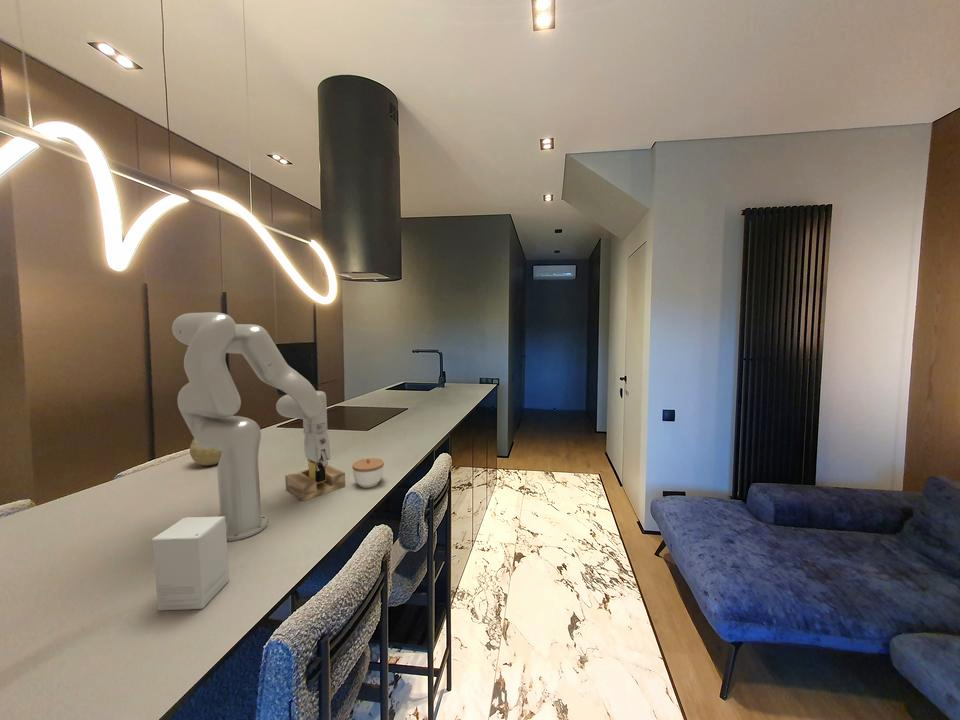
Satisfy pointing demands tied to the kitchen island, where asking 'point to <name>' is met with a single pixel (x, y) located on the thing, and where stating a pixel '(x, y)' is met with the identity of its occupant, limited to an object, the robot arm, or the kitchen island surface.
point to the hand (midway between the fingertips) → (317, 478)
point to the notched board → (314, 483)
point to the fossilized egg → (204, 454)
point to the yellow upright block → (312, 470)
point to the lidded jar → (368, 472)
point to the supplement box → (190, 562)
